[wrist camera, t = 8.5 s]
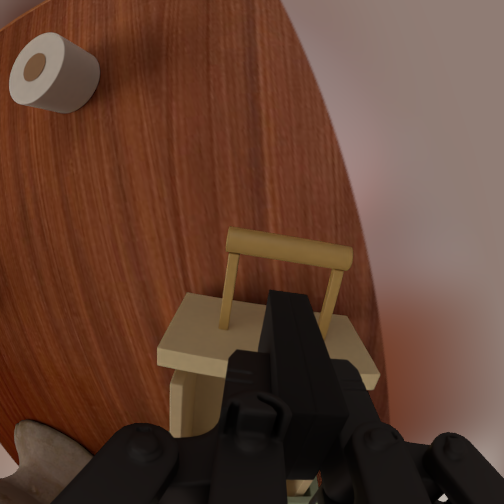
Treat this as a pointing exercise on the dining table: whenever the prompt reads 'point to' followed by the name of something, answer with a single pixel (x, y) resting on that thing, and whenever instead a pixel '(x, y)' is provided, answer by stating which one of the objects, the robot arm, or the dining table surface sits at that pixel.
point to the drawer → (247, 332)
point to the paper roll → (53, 75)
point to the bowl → (42, 464)
